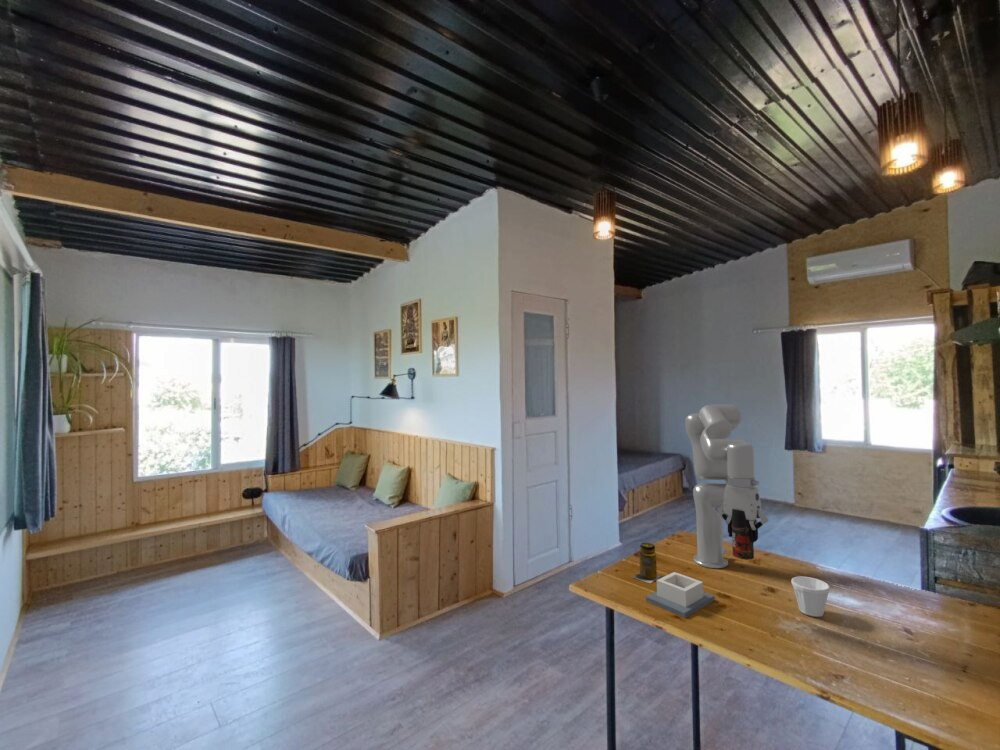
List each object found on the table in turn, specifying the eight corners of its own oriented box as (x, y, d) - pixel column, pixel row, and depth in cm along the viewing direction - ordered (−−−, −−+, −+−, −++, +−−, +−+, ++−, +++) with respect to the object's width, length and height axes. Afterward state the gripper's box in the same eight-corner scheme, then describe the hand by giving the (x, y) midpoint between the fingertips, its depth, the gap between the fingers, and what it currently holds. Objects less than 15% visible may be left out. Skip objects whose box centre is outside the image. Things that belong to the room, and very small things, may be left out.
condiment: (661, 576, 170) (660, 544, 170) (650, 584, 164) (649, 550, 164) (643, 571, 175) (642, 540, 175) (632, 578, 169) (631, 545, 169)
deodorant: (728, 554, 145) (727, 507, 145) (742, 551, 147) (740, 505, 147) (744, 560, 139) (742, 512, 139) (758, 557, 141) (756, 509, 142)
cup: (837, 622, 135) (836, 591, 135) (800, 619, 137) (799, 589, 137) (821, 606, 145) (820, 577, 145) (786, 603, 147) (785, 575, 147)
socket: (676, 585, 162) (675, 567, 162) (714, 600, 151) (713, 580, 151) (646, 601, 151) (645, 581, 151) (684, 617, 140) (683, 596, 140)
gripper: (775, 484, 139) (777, 543, 139) (720, 475, 153) (721, 529, 152) (764, 488, 134) (766, 549, 134) (708, 479, 148) (710, 534, 148)
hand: (742, 538), depth 143 cm, fingers closed on deodorant, 5 cm apart
